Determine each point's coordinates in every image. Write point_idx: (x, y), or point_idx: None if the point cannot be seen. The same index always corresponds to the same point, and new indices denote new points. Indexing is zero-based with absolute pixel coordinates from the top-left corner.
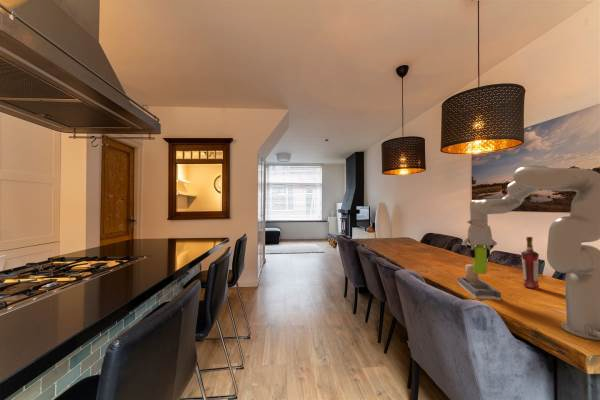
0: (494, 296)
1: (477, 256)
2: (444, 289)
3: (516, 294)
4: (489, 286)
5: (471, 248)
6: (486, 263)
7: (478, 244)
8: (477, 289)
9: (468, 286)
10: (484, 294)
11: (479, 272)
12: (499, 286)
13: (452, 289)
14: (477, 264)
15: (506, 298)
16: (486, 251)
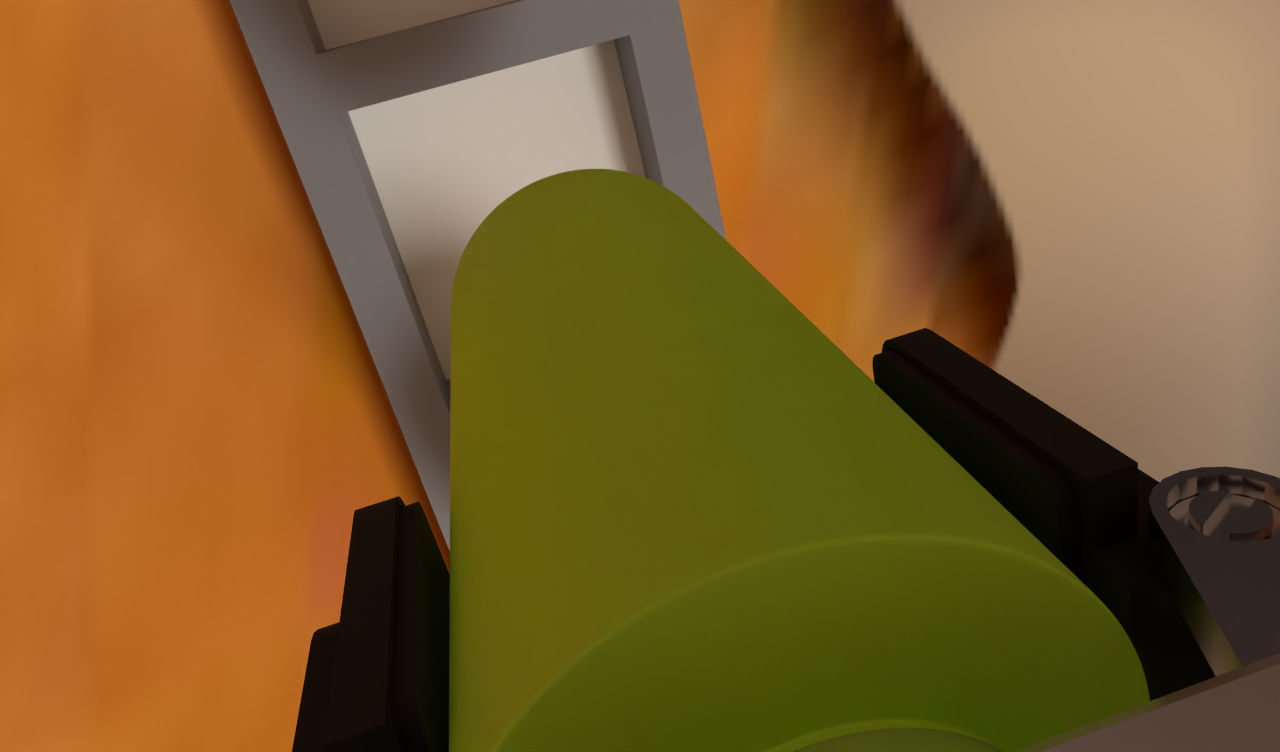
0: (342, 18)
1: (811, 339)
2: (990, 189)
3: (20, 419)
4: (398, 331)
5: (1271, 526)
6: (458, 369)
7: (1232, 689)
8: (607, 26)
9: (717, 215)
10: (494, 4)
11: (619, 173)
12: (254, 704)
13: (885, 242)
14: (715, 244)
15: (165, 115)
16: (467, 644)
